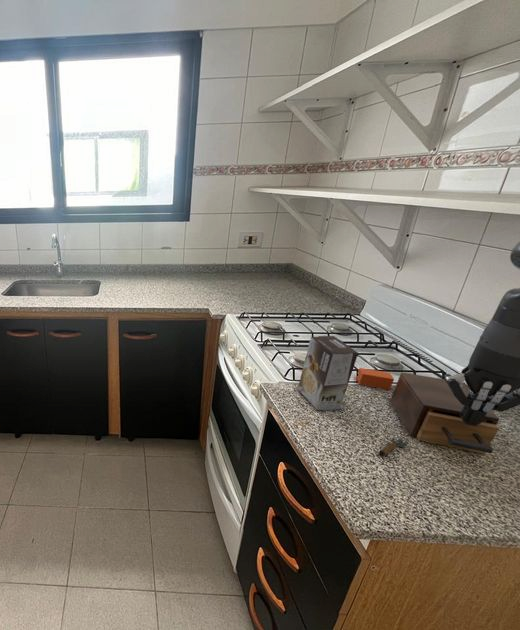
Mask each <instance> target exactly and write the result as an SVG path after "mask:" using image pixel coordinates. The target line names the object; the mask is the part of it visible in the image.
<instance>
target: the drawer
mask: <svg viewBox="0 0 520 630" xmlns="http://www.w3.org/2000/svg"><path fill="white" fill-rule="evenodd" d="M486 421H487V420H485V419H483V421H482V423H480V424H477V426H473V425H467V424H465V423H464V422H463V420H462V419H461V417H460V415H458V414H453V413H448V412H442V411H437V410H432V409H427V411H426V413H425V415H424V417H423V420H422V422H421V424H420V426H419V428H418V434H417V437H418V438H417V437H416V438H417V440H419V441H423V442H427V443H433V444H437V445H442V446H446V447H450V448H456V449H460V450H464V451H468V452H469V451H470V452H474V453H478V454H483V455H485V454H486V453H487V454H492V453H493V451H494V450H493V449H494V448H493V447H492V446H491V444H492V442H493V441H494V439H495V437H496V435H497V434H498V432H499V430H500V427H499V426H498V425H497V424H491V423H486Z"/></svg>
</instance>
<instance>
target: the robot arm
mask: <svg viewBox="0 0 520 630" xmlns="http://www.w3.org/2000/svg"><path fill="white" fill-rule="evenodd" d="M509 260H510V262H511V264H512V265H513V267H515V268H516V269H518V270H520V241H518V242H517V243H516V244H515V245H514V247H513V248H512V250H511V251H510V256H509ZM443 379H445V381H446V382H447V384H448V386H449V387H450V389H451V391H452V392H453V394H454V396H455V397H456V398H457V399H458V401H459V402H460V403H461V404H462V405H464V407H463V409H462V411H461V413H460V417H461V419H462V420H463V422H464V423H465V424H467V425H473V426H477V424H480V423H482V421H483V419H484V418H485V416H486V414H487V412H490V411H497V412H499V413H502V412H506V411H508V410H510V409H513V408H515V407H518V406H520V287H515V288H511V289H508V290H507V291H506V292H505V293H504V294H503V296H502V297H501V299H500V300H499V303H498V305H497V307H496V308H495V311H494V313H493V314H492V317H491V319H490V320H489V322H488V323H487V324H486V326H485V327H484V329H483V331H482V333H481V335H479V339H478V341H477V343H476V345H475V347H474V349H473V351H472V353H471V355H470V358H469V361H468V364H467V366H465V367H463V369H462V370H461V372H460V373H456V374H453V375H452V374H450V373H446V374H444V375H443ZM464 381H465V382H464ZM463 382H464V383H465V384H466V385H467V386H468V388H467V392H468V393H467V396H465V394H464V392H463V391H462V389H461V387H462V386H463Z"/></svg>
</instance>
